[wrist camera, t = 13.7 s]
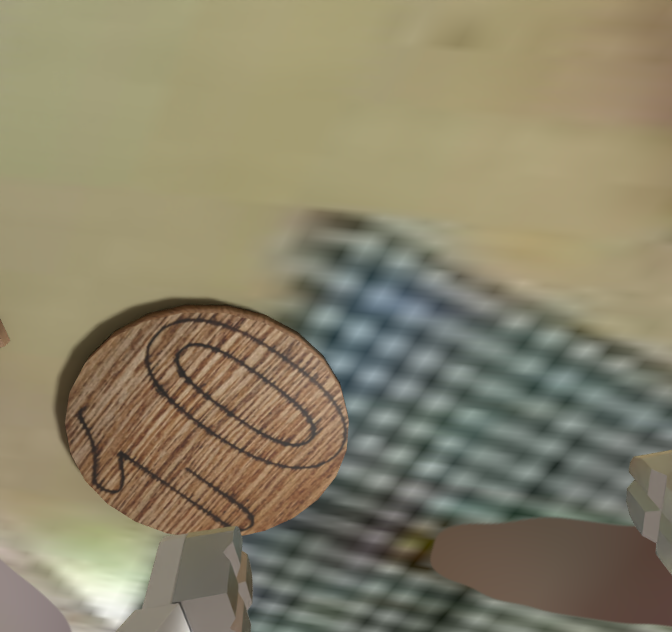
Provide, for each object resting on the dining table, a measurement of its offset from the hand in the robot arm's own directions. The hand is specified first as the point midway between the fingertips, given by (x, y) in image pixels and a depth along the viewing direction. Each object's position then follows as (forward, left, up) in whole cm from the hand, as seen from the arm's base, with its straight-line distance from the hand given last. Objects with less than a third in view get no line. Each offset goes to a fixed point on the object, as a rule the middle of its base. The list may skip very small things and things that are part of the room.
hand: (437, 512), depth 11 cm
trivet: (+21, -14, -35) cm, 43 cm away
